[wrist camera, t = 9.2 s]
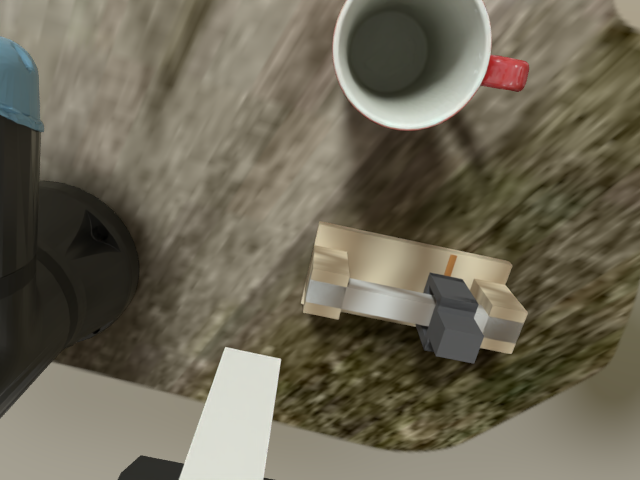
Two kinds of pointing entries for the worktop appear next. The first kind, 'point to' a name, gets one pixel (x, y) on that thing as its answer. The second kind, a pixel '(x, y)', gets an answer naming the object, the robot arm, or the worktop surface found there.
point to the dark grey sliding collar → (451, 320)
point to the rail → (405, 282)
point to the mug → (417, 59)
